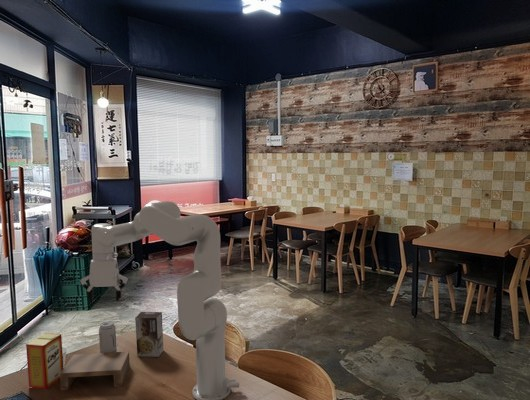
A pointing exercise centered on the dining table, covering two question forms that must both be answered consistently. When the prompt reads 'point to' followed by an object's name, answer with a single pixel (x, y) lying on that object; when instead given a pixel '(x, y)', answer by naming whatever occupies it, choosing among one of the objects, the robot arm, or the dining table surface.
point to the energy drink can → (107, 337)
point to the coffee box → (149, 334)
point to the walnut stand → (95, 367)
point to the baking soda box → (44, 360)
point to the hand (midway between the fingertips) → (105, 300)
